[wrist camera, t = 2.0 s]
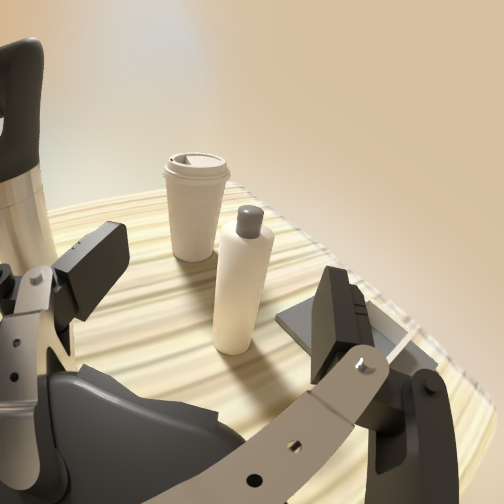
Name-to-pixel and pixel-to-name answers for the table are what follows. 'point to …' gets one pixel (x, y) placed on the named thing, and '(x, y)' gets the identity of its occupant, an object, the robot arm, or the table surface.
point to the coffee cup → (194, 202)
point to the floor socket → (383, 330)
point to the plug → (240, 279)
